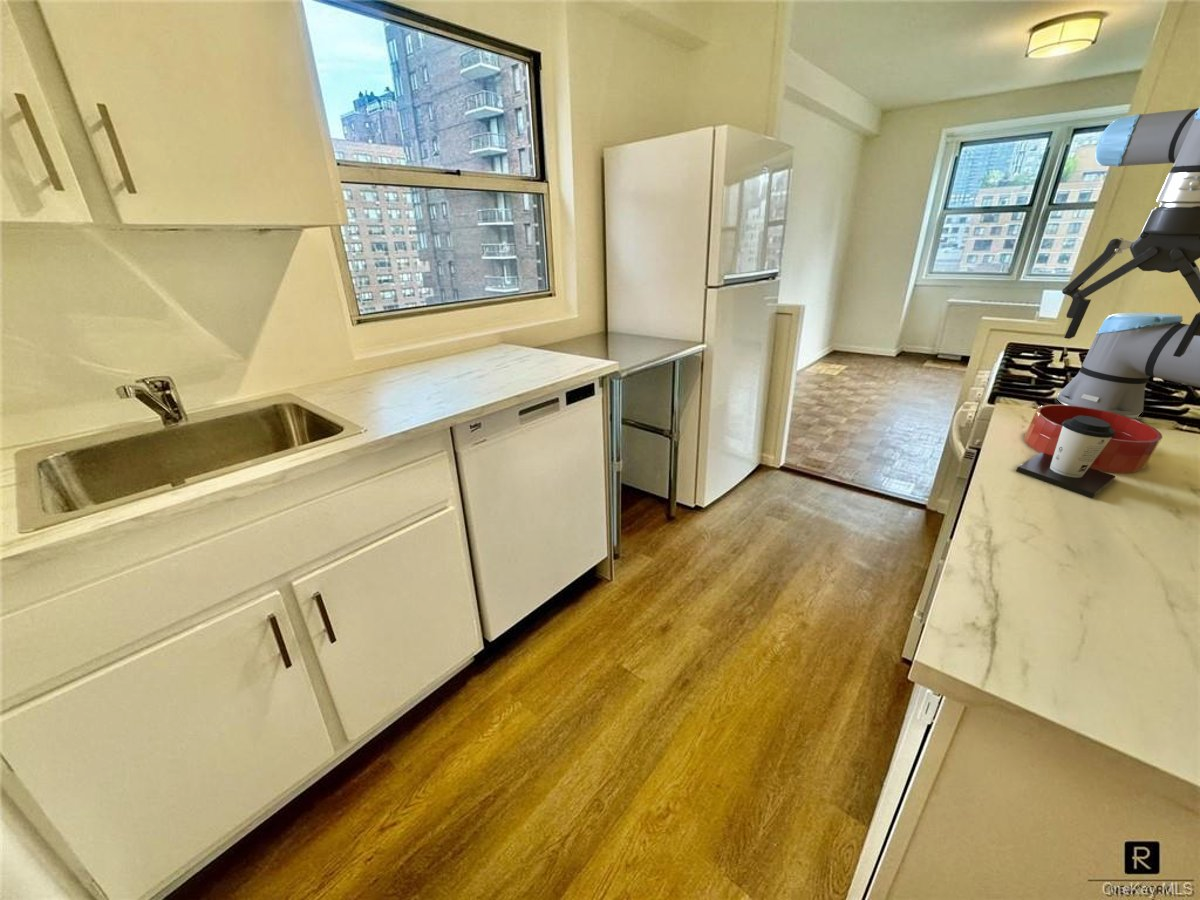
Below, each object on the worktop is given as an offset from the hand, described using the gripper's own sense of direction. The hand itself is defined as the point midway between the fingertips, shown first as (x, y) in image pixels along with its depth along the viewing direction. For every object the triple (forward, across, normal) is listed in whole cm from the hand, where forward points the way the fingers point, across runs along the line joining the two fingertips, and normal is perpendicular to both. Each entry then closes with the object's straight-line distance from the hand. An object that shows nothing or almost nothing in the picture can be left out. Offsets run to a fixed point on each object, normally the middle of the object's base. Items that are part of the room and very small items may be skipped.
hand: (1120, 345), depth 82 cm
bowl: (+23, 0, +11) cm, 26 cm away
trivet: (+23, +2, -5) cm, 24 cm away
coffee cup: (+22, +2, -5) cm, 23 cm away
